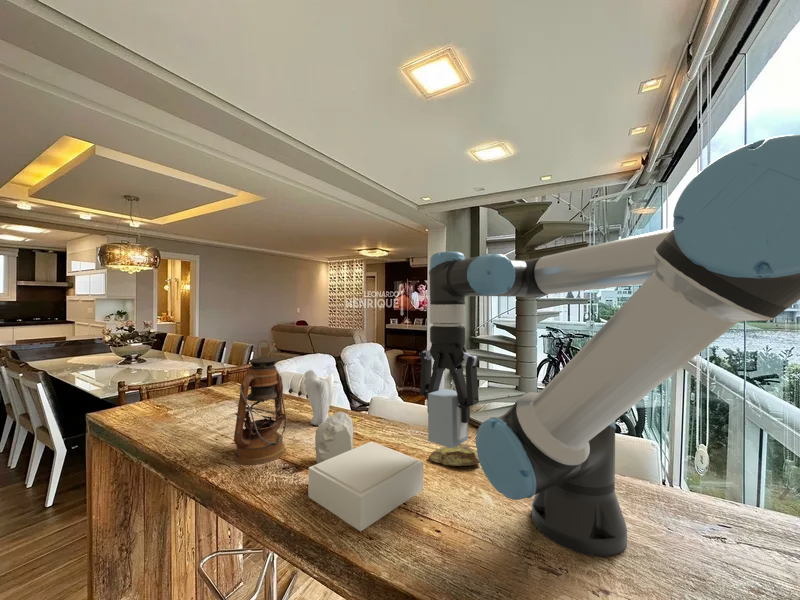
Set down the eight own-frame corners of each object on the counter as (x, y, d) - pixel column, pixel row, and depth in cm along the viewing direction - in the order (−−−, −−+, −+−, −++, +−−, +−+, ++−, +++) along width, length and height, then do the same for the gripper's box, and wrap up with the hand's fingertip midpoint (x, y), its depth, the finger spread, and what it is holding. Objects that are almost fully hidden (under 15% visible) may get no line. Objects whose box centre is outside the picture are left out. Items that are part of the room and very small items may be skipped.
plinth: (423, 489, 73) (423, 460, 73) (360, 531, 60) (360, 495, 60) (371, 465, 84) (371, 440, 84) (308, 496, 70) (308, 466, 70)
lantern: (264, 438, 101) (265, 336, 101) (300, 445, 96) (301, 338, 96) (214, 462, 85) (215, 342, 85) (253, 472, 80) (255, 345, 80)
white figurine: (337, 421, 115) (337, 367, 116) (324, 429, 108) (324, 372, 108) (316, 418, 118) (316, 366, 118) (301, 426, 110) (302, 370, 111)
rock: (483, 476, 84) (474, 443, 93) (481, 456, 81) (471, 425, 90) (433, 484, 85) (429, 451, 94) (429, 464, 82) (425, 432, 91)
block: (467, 439, 73) (467, 392, 73) (452, 448, 68) (452, 398, 68) (444, 433, 77) (443, 388, 77) (428, 440, 72) (428, 393, 72)
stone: (319, 469, 82) (320, 421, 82) (313, 460, 86) (313, 415, 86) (358, 458, 88) (358, 413, 88) (350, 451, 92) (350, 408, 92)
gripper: (496, 325, 70) (497, 439, 69) (422, 323, 82) (423, 419, 82) (478, 327, 64) (479, 451, 63) (402, 324, 76) (402, 427, 76)
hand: (448, 433), depth 72 cm, fingers closed on block, 6 cm apart
